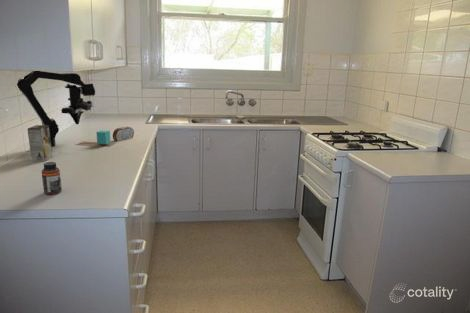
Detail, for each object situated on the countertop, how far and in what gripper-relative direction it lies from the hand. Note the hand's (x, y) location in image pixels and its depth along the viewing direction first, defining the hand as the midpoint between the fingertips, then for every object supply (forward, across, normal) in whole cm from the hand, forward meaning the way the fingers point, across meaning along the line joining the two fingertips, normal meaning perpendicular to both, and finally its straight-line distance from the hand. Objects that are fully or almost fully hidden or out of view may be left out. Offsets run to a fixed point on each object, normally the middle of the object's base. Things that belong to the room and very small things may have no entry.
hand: (77, 124), depth 205 cm
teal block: (+10, -1, -16) cm, 19 cm away
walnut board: (+12, -1, -11) cm, 16 cm away
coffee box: (+12, -32, 0) cm, 34 cm away
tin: (+12, +16, -20) cm, 28 cm away
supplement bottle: (+12, -71, -34) cm, 80 cm away
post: (+11, -1, -16) cm, 19 cm away
